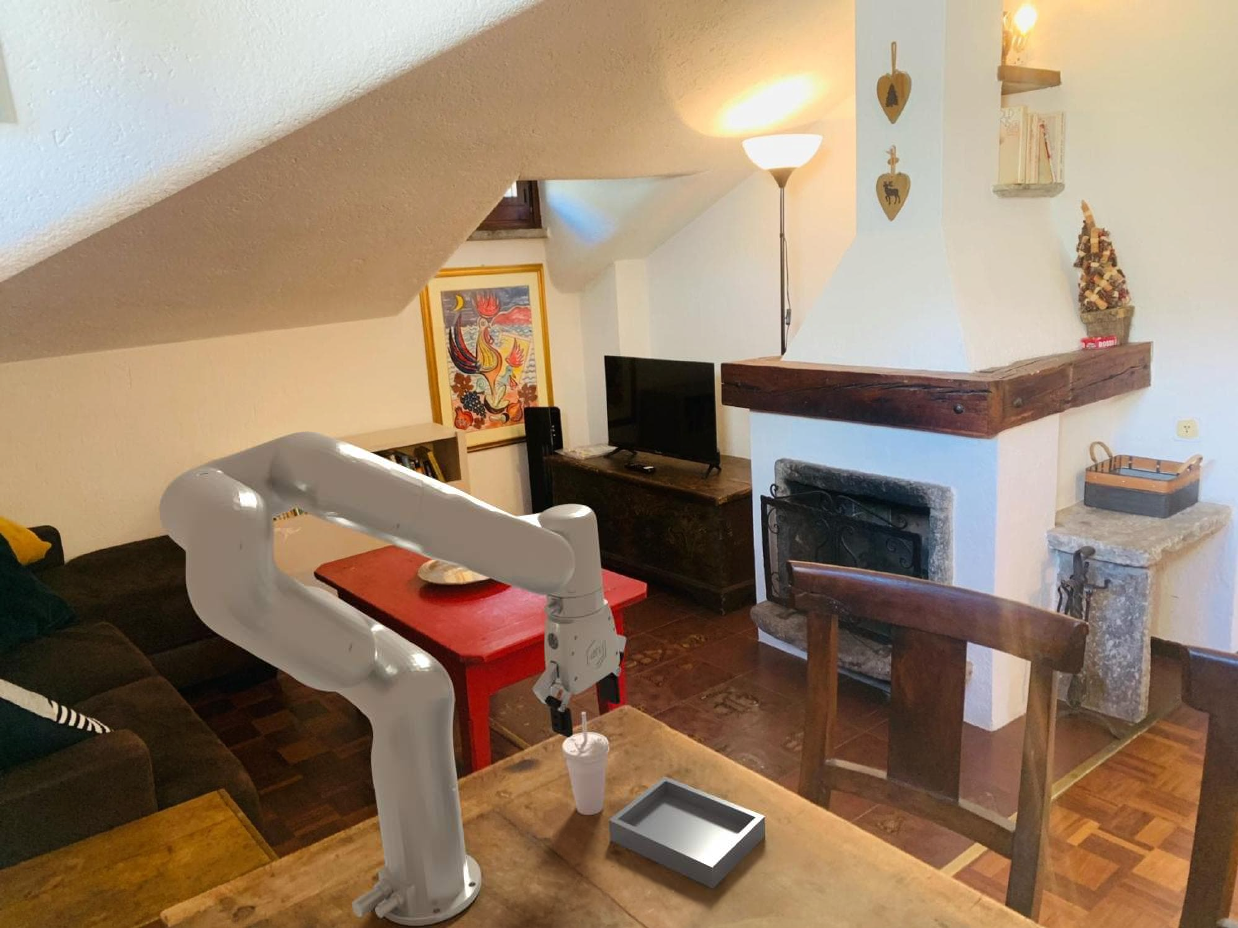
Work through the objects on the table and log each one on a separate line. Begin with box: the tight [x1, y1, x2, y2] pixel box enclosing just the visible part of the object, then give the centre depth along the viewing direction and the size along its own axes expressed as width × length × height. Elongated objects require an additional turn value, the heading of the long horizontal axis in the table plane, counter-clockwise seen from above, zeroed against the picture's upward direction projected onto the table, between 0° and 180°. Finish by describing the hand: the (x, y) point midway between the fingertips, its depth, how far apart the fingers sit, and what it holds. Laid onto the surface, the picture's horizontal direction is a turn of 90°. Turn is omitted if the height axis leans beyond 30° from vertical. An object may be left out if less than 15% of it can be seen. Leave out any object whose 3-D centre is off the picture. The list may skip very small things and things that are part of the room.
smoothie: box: [561, 711, 610, 816], centre depth 126 cm, size 6×6×14 cm
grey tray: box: [608, 776, 766, 890], centre depth 120 cm, size 12×16×3 cm
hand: (587, 716), depth 125 cm, fingers open, 9 cm apart
